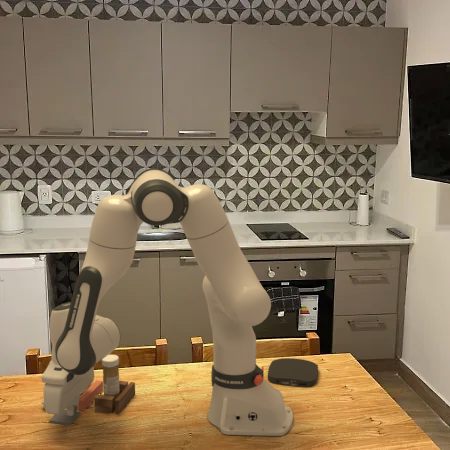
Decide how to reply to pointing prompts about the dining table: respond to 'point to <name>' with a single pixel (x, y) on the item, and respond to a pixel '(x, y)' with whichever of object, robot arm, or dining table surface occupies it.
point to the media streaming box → (293, 372)
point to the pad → (64, 418)
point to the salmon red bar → (90, 395)
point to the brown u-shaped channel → (110, 403)
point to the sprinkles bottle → (111, 375)
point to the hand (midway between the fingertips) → (72, 413)
